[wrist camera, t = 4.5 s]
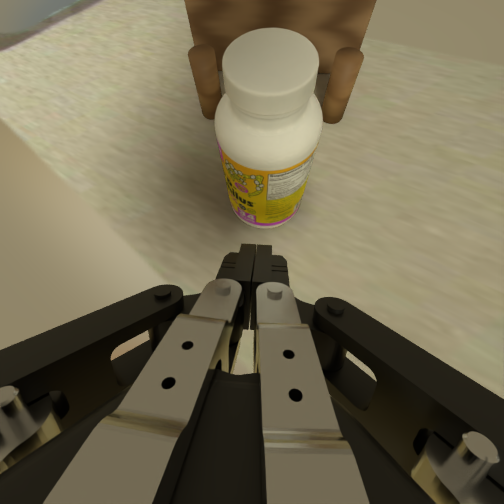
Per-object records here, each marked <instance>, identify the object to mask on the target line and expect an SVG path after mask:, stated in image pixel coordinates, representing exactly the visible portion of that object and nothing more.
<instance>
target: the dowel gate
mask: <svg viewBox="0 0 504 504" xmlns="http://www.w3.org/2000/svg"><path fill="white" fill-rule="evenodd" d="M188 57H189V61H190V65H191V69H192V73H193V77H194V81H195V85H196V89H197V93H198V97H199V101H200V105H201V109H202V113H203V115H204V117H206V118H207V119H215V113H216V109H217V106H218V104H219V102H220V100H221V98H222V95H221V88H220V82H219V76H218V69H217V63H216V56H215V51H214V49H213V47H211V46H209V45H206V44H200V45H196V46H194V47H192V48H191V49H190V50H189V52H188ZM363 59H364V55H363V53H362V52H361V51H360V50H358V49H356V48H353V47H344V48H341V49H339V50H338V51H337V52H336V55H335V59H334V63H333V66H332V70H331V74H330V78H329V82H328V85H327V89H326V93H325V97H324V101H323V105H322V108H321V110H322V115H323V121H324V122H326V123H329V124H335V123H338V122H339V121H340V120H341V119H342V117H343V114H344V111H345V108H346V106H347V103H348V100H349V97H350V95H351V92H352V89H353V87H354V84H355V81H356V78H357V76H358V73H359V70H360V67H361V65H362V62H363Z"/></svg>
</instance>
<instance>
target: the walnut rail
mask: <svg viewBox="0 0 504 504" xmlns="http://www.w3.org/2000/svg"><path fill="white" fill-rule="evenodd" d="M184 1H185V5H186V10H187V14H188V19H189V23H190V28H191V32H192V37H193V41H194V46H196V45H200V44H206V45H209V46H211V47H213V49H214V51H215V56H216V63H217V69H218V71H223V70H222V59H223V55H224V53H225V51H226V49H227V47H228V46H229V45H230V44H231V43H232V42H233V41H234V40H235V39H237V38H238V37H240V36H241V35H243V34H245V33H247V32H250V31H253V30H257V29H261V28H282V29H288V30H291V31H294V32H297V33H299V34H301V35H303V36H304V37H306V38H307V39H308V40H309V41H310V42H311V43H312V44H313V45H314V47H315V48H316V50H317V52H318V56H319V67H318V73H331V70H332V66H333V63H334V59H335V55H336V52H337V51H338V50H339V49H341V48H344V47H353V48H356V49H358V50H360V47H361V44H362V41H363V39H364V36H365V33H366V30H367V27H368V24H369V21H370V18H371V15H372V12H373V9H374V6H375V3H376V0H184Z"/></svg>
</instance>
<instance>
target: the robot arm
mask: <svg viewBox="0 0 504 504" xmlns="http://www.w3.org/2000/svg"><path fill="white" fill-rule="evenodd" d="M250 313H251V320H250ZM249 321H250V330H254V343H253V373H251V374H244V375H234V374H233V371H234V367H235V363H236V359H237V355H238V351H239V347H240V338H241V336H242V332H243V329H247V330H248V329H249ZM147 330H148V332H149V338H150V340H148V341H146V342H144V343H142V344H141V345H139V346H137V347H135V348H134V349H132V350H130V351H128V352H126V353H125V354H123V355H121V356H119V357H117V358H115V359H114V360H112V361H111V359H110V358H111V354H112V352H113V351H114V349H115V348H116V347H118V346H119V345H120V344H122V343H124V342H126V341H128V340H130V339H132V338H134V337H136V336H137V335H139V334H141V333H143V332H145V331H147ZM347 351H349V352H350V353H351V354H353V355H354V356H355V357H356V358H358V359H359V360H360V361H361V362H363V363H364V364H365V365H366V366H368V367H369V368H370V369H371V370H372V372H373V373H374V375H375V377H376V380H377V382H376V381H375V380H374V379H372V378H371V377H370V376H369V375H368V374H366V373H365V372H364V371H363V370H361V369H360V368H359V367H358V366H357V365H355V364H354V363H353V362H352V361H350V360H349V359H348V358H347V357H346V353H347ZM329 394H330V395H331V396H332V397H331V396H330V395H329ZM0 504H504V399H502V398H501V397H499V396H498V395H496V394H494V393H493V392H491V391H489V390H488V389H486V388H485V387H483V386H481V385H480V384H478V383H477V382H475V381H473V380H472V379H470V378H469V377H467V376H465V375H464V374H462V373H461V372H459V371H457V370H456V369H454V368H452V367H451V366H449V365H448V364H446V363H444V362H443V361H441V360H440V359H438V358H436V357H435V356H433V355H432V354H430V353H428V352H427V351H425V350H424V349H422V348H420V347H419V346H417V345H416V344H414V343H412V342H411V341H409V340H407V339H406V338H404V337H403V336H401V335H399V334H398V333H396V332H395V331H393V330H391V329H390V328H388V327H387V326H385V325H383V324H382V323H380V322H379V321H377V320H375V319H374V318H372V317H371V316H369V315H367V314H366V313H364V312H362V311H361V310H359V309H358V308H356V307H354V306H353V305H351V304H350V303H348V302H346V301H344V300H342V299H339V298H334V297H324V298H320V299H318V300H317V301H316V303H315V305H312V304H309V303H305V302H303V301H300V300H299V299H297V298H295V297H294V293H293V291H292V289H291V288H290V286H289V277H288V268H287V261H286V259H285V258H284V257H283V256H280V255H272V245H258V244H257V251H256V244H241V248H240V251H239V253H234V252H230V253H229V254H227V255H226V256H225V257H224V259H223V262H222V264H221V268H220V269H219V272H218V274H217V277H216V279H215V280H213V281H211V282H209V283H208V284H207V285H206V286H205V288H204V290H203V291H202V293H199V294H194V295H186V296H183V291H182V289H181V288H180V287H178V286H175V285H159V286H156V287H153V288H151V289H148V290H145V291H143V292H141V293H138V294H136V295H134V296H131V297H129V298H126V299H124V300H121V301H119V302H116V303H114V304H112V305H109V306H107V307H104V308H102V309H100V310H97V311H94V312H92V313H90V314H87V315H85V316H82V317H80V318H78V319H75V320H73V321H70V322H68V323H65V324H63V325H60V326H58V327H56V328H53V329H51V330H48V331H46V332H44V333H41V334H39V335H36V336H34V337H31V338H29V339H26V340H24V341H22V342H19V343H17V344H14V345H12V346H10V347H7V348H5V349H2V350H0Z"/></svg>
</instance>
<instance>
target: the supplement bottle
mask: <svg viewBox="0 0 504 504" xmlns="http://www.w3.org/2000/svg"><path fill="white" fill-rule="evenodd" d="M318 67H319V56H318V52H317V50H316V48H315V47H314V45H313V44H312V43H311V42H310V41H309V40H308V39H307V38H306V37H304V36H303V35H301V34H299V33H297V32H294V31H291V30H288V29H282V28H261V29H257V30H253V31H250V32H247V33H245V34H243V35H241V36H240V37H238V38H237V39H235V40H234V41H233V42H232V43H231V44H230V45H229V46H228V47H227V49H226V51H225V53H224V55H223V59H222V70H223V78H224V86H225V91H226V93H225V94H224V95H223V97H222V98H221V100H220V102H219V104H218V106H217V109H216V113H215V122H214V123H215V132H216V137H217V141H218V146H219V151H220V155H221V160H222V166H223V171H224V175H225V180H226V185H227V189H228V194H229V199H230V203H231V206H232V209H233V211H234V212H235V214H236V215H237V216H238V217H239V218H240V219H241V220H242V221H243V222H245V223H246V224H248V225H250V226H253V227H256V228H264V229H266V228H274V227H278V226H280V225H282V224H284V223H286V222H287V221H289V220H290V219H291V218H292V217H293V216H294V215H295V213H296V212H297V210H298V208H299V205H300V203H301V199H302V196H303V193H304V189H305V186H306V183H307V179H308V176H309V172H310V169H311V165H312V162H313V158H314V155H315V152H316V149H317V145H318V142H319V139H320V135H321V131H322V125H323V115H322V110H321V106H320V103H319V101H318V99H317V97H316V96H315V94H314V93H313V92H314V89H315V85H316V79H317V73H318Z"/></svg>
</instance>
